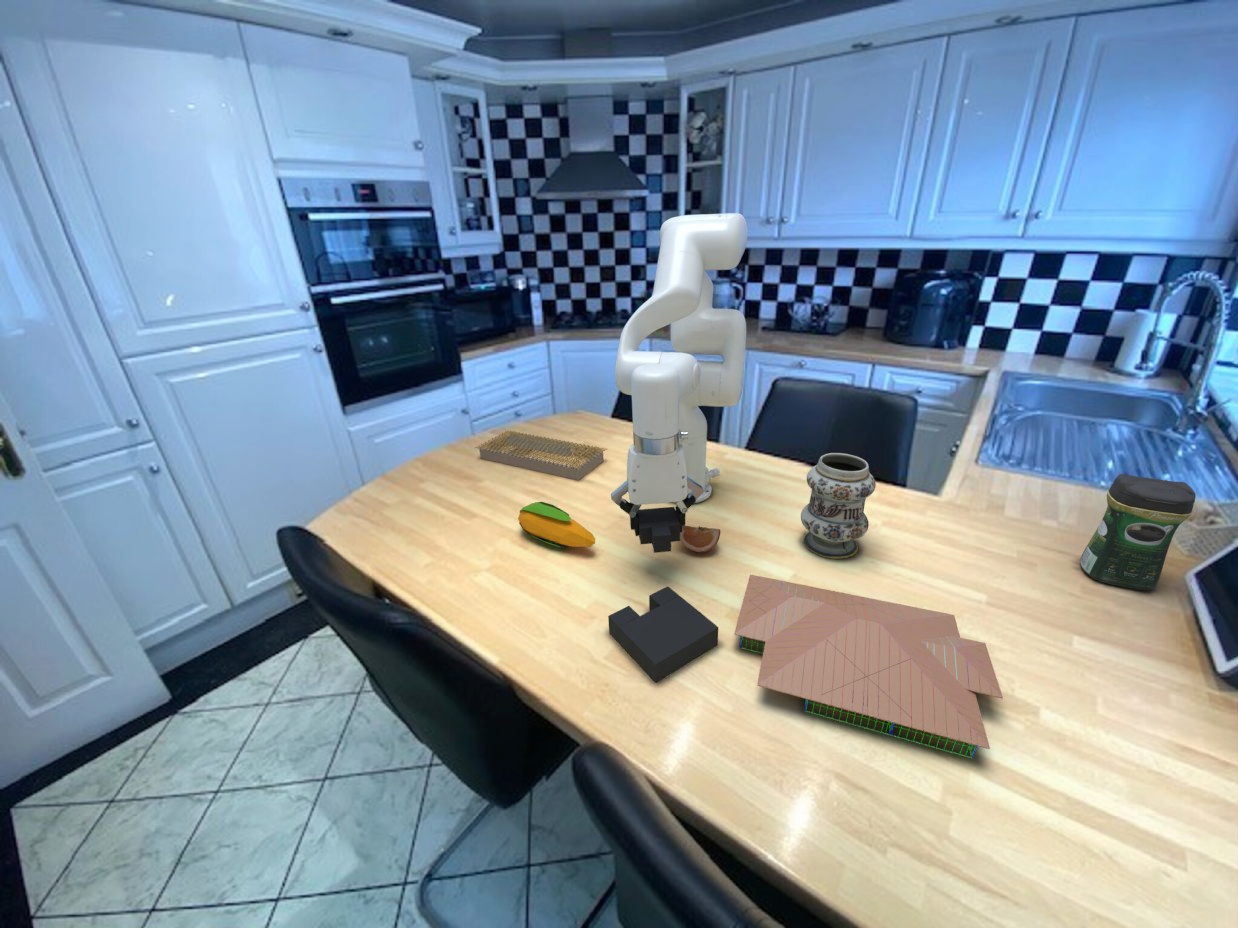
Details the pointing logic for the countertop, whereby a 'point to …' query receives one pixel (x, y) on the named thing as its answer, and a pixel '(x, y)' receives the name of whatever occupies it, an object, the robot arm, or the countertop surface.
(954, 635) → the house
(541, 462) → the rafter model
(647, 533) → the tab pad
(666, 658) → the notch pad
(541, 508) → the corn
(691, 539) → the fruit slice
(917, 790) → the countertop surface
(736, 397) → the robot arm
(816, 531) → the apothecary jar
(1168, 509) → the coffee jar
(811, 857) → the countertop surface
